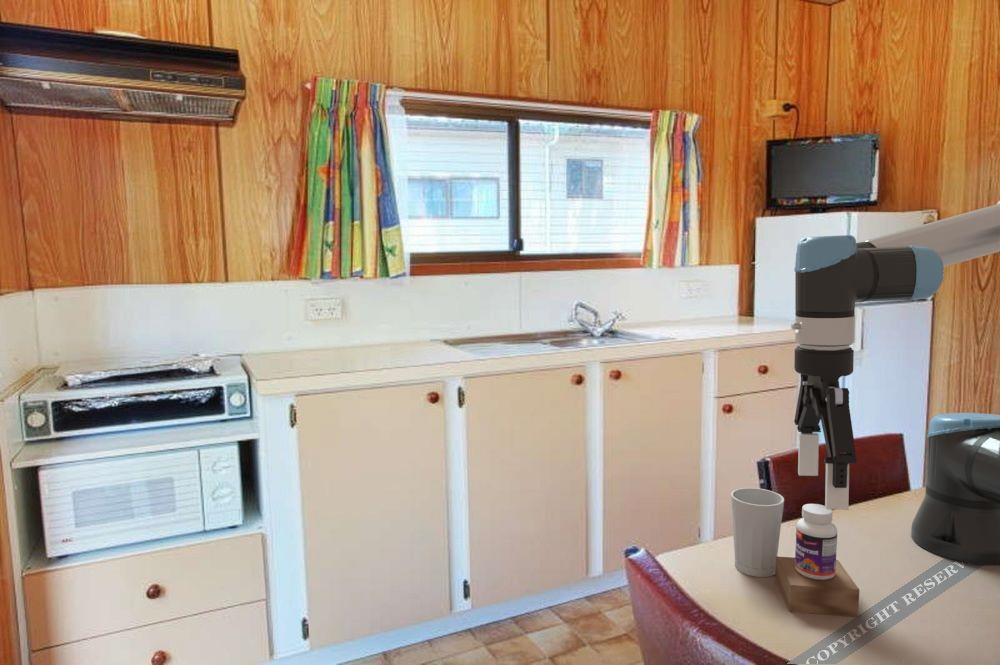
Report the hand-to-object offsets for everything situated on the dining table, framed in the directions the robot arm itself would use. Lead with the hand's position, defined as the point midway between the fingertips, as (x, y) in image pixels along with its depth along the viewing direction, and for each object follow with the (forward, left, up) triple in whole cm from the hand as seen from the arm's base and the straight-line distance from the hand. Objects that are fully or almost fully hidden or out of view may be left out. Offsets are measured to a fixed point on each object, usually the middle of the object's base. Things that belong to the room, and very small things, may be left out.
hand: (821, 490), depth 95 cm
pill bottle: (0, 0, -13) cm, 13 cm away
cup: (+7, -9, -17) cm, 20 cm away
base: (0, 0, -16) cm, 16 cm away
